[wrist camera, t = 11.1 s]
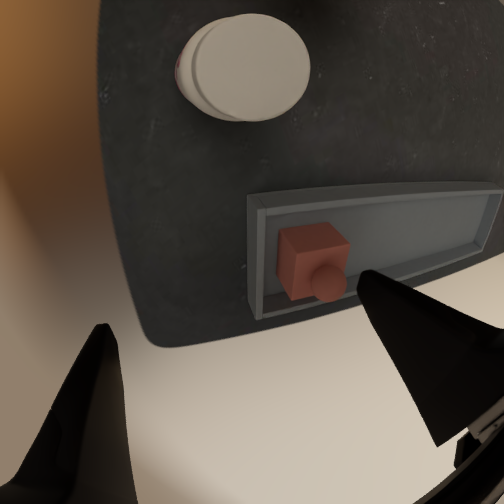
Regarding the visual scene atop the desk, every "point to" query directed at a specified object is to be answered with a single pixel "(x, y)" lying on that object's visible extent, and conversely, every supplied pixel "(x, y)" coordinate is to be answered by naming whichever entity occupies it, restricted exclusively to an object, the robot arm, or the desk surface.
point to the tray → (369, 231)
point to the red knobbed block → (312, 261)
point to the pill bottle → (244, 68)
